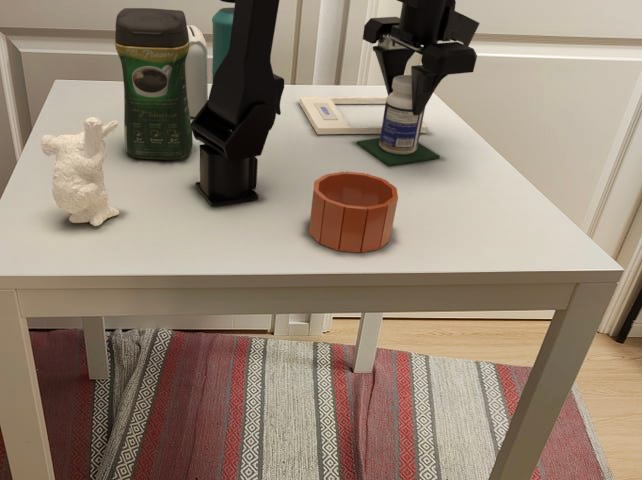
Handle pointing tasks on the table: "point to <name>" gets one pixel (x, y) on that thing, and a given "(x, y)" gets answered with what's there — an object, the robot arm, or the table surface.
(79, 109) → the table surface
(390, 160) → the mat
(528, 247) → the table surface
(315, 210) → the pot
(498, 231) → the table surface
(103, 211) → the white animal figurine
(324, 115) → the photo frame
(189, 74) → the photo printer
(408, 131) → the pill bottle
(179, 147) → the coffee jar
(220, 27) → the beverage bottle
